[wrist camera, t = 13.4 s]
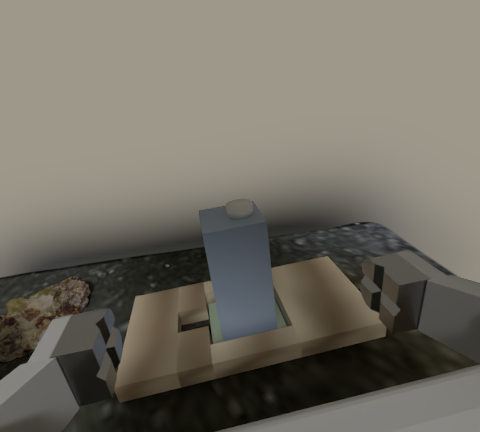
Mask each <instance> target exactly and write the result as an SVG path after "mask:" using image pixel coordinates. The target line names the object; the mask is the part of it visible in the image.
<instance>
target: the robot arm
mask: <svg viewBox="0 0 480 432" xmlns="http://www.w3.org/2000/svg"><path fill="white" fill-rule="evenodd" d="M362 271H363V272H364V274H365V276H364V278H363V279H362V281H361V293H362V297H363V299H364V301H365V303H366V305H367V306H368V307H369V308H370V309H371V310H374V311H376V312H378V313H379V320H380V321H381V322H382V323H383V324H384V325H385V326H386V327H387V329H388V330H389V331H390V332H391V333H392V334H394V333H399V332H404V331H409V330H414V329H418V331H420V332H422V333H424V334H426V335H428V336H430V337H431V338H433V339H435V340H437V341H439V342H441V343H442V344H444V345H446V346H448V347H450V348H452V349H453V350H455V351H457V352H459V353H461V354H463V355H465V356H466V357H468V358H470V359H472V360H474V361H476V362H477V363H479V364H480V283H478V282H474V281H471V280H467V279H464V278H460V277H457V276H453V275H450V276H446V275H445V274H444V273H442V272H441V271H439V270H438V269H436V268H435V267H433V266H432V265H430V264H429V263H427V262H426V261H424V260H423V259H421V258H420V257H419V256H417V255H416V254H414V253H413V252H411V251H407V250H406V251H401V252H397V253H393V254H390V255H385V256H380V257H375V258H370V259H365V260H364V262H363V264H362ZM114 321H115V317H114V315H113V312H112V310H110V309H109V308H108V309H102V310H96V311H90V312H84V313H78V314H74V315H67V316H62V317H57V318H55V319H53V320H52V321H51V323H50V324H49V326H48V328H47V330H46V331H45V333H44V335H43V336H42V338H41V340H40V342H39V343H38V345H37V347H36V349H35V350H34V352H33V354H32V355H31V357H30V359H29V361H28V362H27V363H25V364H21V365H19V366H18V367H17V368H16V369H14V370H13V371H12V372H11V373H9V374H8V375H7V376H5V377H4V378H3V379H2V380H0V432H62V430H63V429H64V428H65V427H66V425H67V424H68V423H69V421H70V420H71V419H72V418H73V416H74V415H75V414H76V412H77V411H78V410H79V406H83V405H87V404H91V403H95V402H99V401H103V400H107V399H110V398H112V397H113V393H114V388H115V384H116V380H117V374H116V371H115V368H116V367H117V366H118V365H119V364H120V362H121V358H122V339H121V335H120V332H119V330H118V329H116V328H115V327H113V324H114ZM216 432H480V365H476V366H472V367H468V368H464V369H460V370H456V371H452V372H448V373H444V374H440V375H436V376H433V377H429V378H425V379H421V380H417V381H413V382H409V383H405V384H401V385H397V386H393V387H389V388H385V389H381V390H377V391H374V392H370V393H366V394H362V395H358V396H354V397H350V398H346V399H342V400H338V401H334V402H330V403H326V404H322V405H318V406H314V407H311V408H307V409H303V410H299V411H295V412H291V413H287V414H283V415H279V416H275V417H271V418H267V419H263V420H259V421H255V422H251V423H248V424H244V425H240V426H236V427H232V428H228V429H224V430H220V431H216Z"/></svg>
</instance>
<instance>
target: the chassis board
mask: <svg viewBox="0 0 480 432" xmlns="http://www.w3.org/2000/svg"><path fill="white" fill-rule="evenodd" d="M271 270H272V280H273V290H274V297H275V298H274V300H275V299H276V301H275V310H276V319H277V329H275V330H271V331H267V332H262V333H258V334H254V335H250V336H245V337H241V338H237V339H233V340H228V341H224V342H223V337H222V332H221V327H220V322H219V317H218V312H217V307H216V302H215V297H214V292H213V287H212V282H211V281H207V282H203V283H198V284H193V285H188V286H184V287H179V288H174V289H169V290H165V291H160V292H155V293H151V294H146V295H141V296H136V297H135V301H134V305H133V310H132V314H131V318H130V322H129V326H128V330H127V334H126V338H125V342H124V346H123V351H122V358H121V362H120V364H119V367H118V371H117V380H116V384H115V388H114V391H115V393H116V395H117V398H118V400H119V402H120V403H121V402H125V401H129V400H133V399H137V398H141V397H145V396H149V395H153V394H157V393H161V392H165V391H169V390H173V389H177V388H181V387H185V386H189V385H193V384H197V383H201V382H205V381H209V380H213V379H217V378H221V377H225V376H229V375H233V374H237V373H241V372H245V371H249V370H253V369H257V368H261V367H265V366H269V365H273V364H277V363H281V362H285V361H289V360H293V359H297V358H301V357H305V356H310V355H314V354H318V353H322V352H326V351H330V350H334V349H338V348H342V347H346V346H350V345H354V344H358V343H362V342H366V341H370V340H374V339H378V338H382V337H386V326H385V325H384V324H383V323H382V322H381V321H380V320H379V313H378V312H376V311H374V310H371V309H370V308H369V307H368V306H367V305H366V303H365V301H364V299H363V297H362V294H361V293H360V291H359V290H358V289H357V288H356V287H355V286H354V285H353V284H352V283H351V282H350V280H349V279H348V278H347V277H346V276H345V275H344V274H343V273H342V272H341V271H340V269H339V268H338V267H337V266H336V265H335V264H334V263H333V262H332V261H331V260H330V259H329V257H328V256H326V257H321V258H316V259H311V260H307V261H302V262H297V263H293V264H288V265H283V266H278V267H274V268H271ZM276 302H277V303H276ZM277 304H278V305H277ZM207 305H208V306H207ZM278 306H279V307H278ZM208 307H209V315H208ZM279 308H280V309H279ZM280 310H281V312H280ZM281 313H282V314H281ZM282 315H283V316H282ZM209 316H210V324H211V332H212V341H213V344H212V341H211V336H210V331H209V327H208V326H206V327H202V328H197V329H193V330H189V331H184V332H182V325H186V324H190V323H195V322H199V321H204V320H208V319H209ZM283 317H284V318H283ZM284 319H285V320H284ZM285 321H286V323H285ZM286 324H287V325H286ZM287 326H288V327H287Z"/></svg>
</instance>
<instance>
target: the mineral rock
mask: <svg viewBox="0 0 480 432" xmlns="http://www.w3.org/2000/svg"><path fill="white" fill-rule="evenodd" d="M90 293H91V292H90V289H89V288H88V284H86V283H85V280H81V278H78V277H70V278H69V279H66V280H63V281H61V282H60V283H59V284H57V285H53V286H49V287H48V288H45V289H43V290H41V291H40V292H38V293H37V294H34V296H31V297H30V299H28V300H27V299H25V298H22V297H21V298H16V299H12V300H10V301H9V302H8V303H7V304H6V306H7V310H8V313H7V314H4V315H0V361H1V362H9V361H12V360H13V359H15V358H17V357H19V358H21V357H23V356H25V355H27V354H29V353H31V352H33V351H34V350H35V349H36V347H37V345H38V343H39V342H40V340H41V338H42V336H43V335H44V333H45V331H46V330H47V328H48V326H49V324H50V323H51V321H52V320H53V319H55V318H57V317H62V316H67V315H74V314H78V313H81V312H82V310H83V309H84V308H85V307H86V306H87V305H88V302H89V299H88V296H89V294H90Z"/></svg>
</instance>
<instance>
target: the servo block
mask: <svg viewBox="0 0 480 432" xmlns="http://www.w3.org/2000/svg"><path fill="white" fill-rule="evenodd" d="M199 216H200V222H201V230H202V236H203V241H204V246H205V251H206V256H207V261H208V266H209V271H210V277H211V282H212V287H213V292H214V297H215V302H216V307H217V312H218V317H219V322H220V327H221V332H222V337H223V342H224V341H228V340H233V339H237V338H241V337H245V336H250V335H254V334H258V333H262V332H267V331H271V330H275V329H277V319H276V310H275V300H274V290H273V280H272V270H271V260H270V251H269V241H268V231H267V222H266V220H265V219H264V217H263V216H262V214H261V213H260V211H259V210H258V208H257V207H256V205H255V204H254V202H253V201H250V200H248V199H238V200H234V201H231V202H229V203H227V204H226V206H222V207H217V208H211V209H206V210H200V211H199Z"/></svg>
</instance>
